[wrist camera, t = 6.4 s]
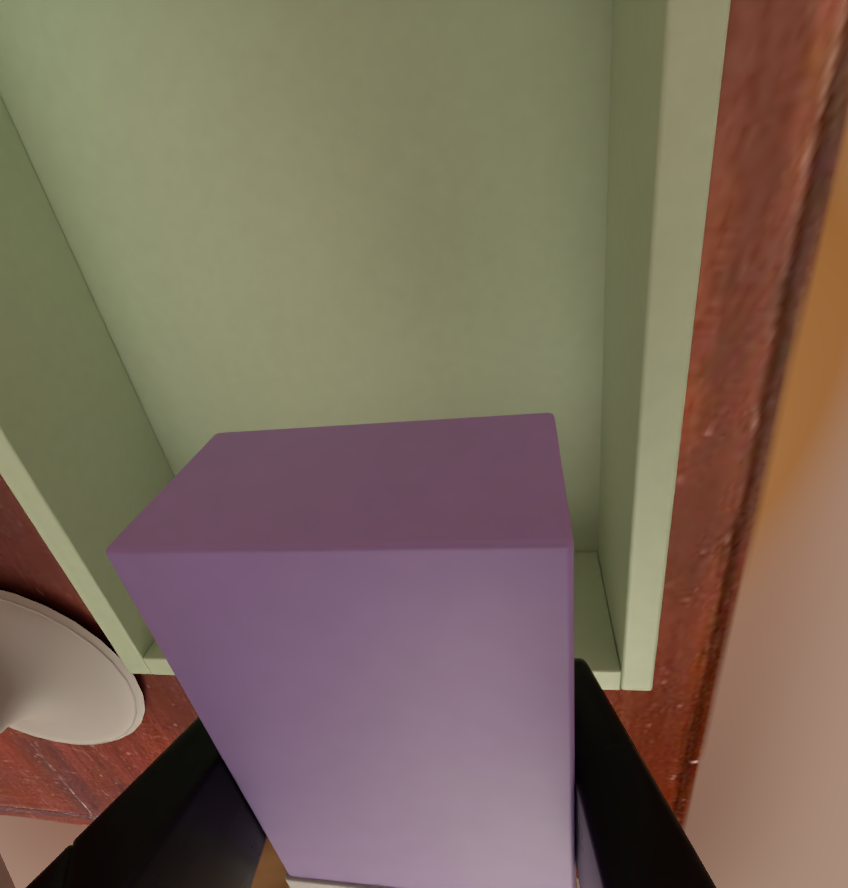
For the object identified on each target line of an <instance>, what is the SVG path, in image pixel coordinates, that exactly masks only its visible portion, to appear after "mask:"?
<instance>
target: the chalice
mask: <svg viewBox="0 0 848 888" xmlns="http://www.w3.org/2000/svg"><path fill="white" fill-rule="evenodd" d="M144 712H145V705H144V698H143V694H142V691H141V689H140V687H139V685H138V683H137V681H136V679H135V677H134V675H133V674H131V673H130V672H129V671H128V669H127V668H126V666H125V665H124V663H123V662H122V660H121V659H120V658H119V657H118V656H117V655H116V654H115V653H114V652H113V651H112V650H111V649H110V648H109V647H108V646H106V645H105V644H104V643H103V642H102V641H101V640H100V639H99V638H97V637H96V636H94V635H93V634H91V633H90V632H89V631H87V630H86V629H84V628H83V627H82V626H80V625H79V624H77V623H76V622H74V621H73V620H71V619H69V618H67V617H65V616H63V615H61V614H60V613H58V612H56V611H54V610H52V609H50V608H49V607H47V606H45V605H42V604H40V603H37V602H35V601H32V600H29V599H27V598H24V597H22V596H19V595H17V594H14V593H10V592H6V591H3V590H0V734H1V733H2V732H3V731H4V730H5V729H6V728H7V727H10V728H12V729H15V730H18V731H21V732H23V733H26V734H29V735H32V736H35V737H39V738H43V739H47V740H51V741H55V742H62V743H69V744H101V743H106V742H111V741H114V740H118V739H121V738H123V737H125V736H127V735H129V734H131V733H132V732H133V731H134V730H135V729H136V728H137V727H138V726H139V725H140V724H141V722H142V719H143V716H144ZM0 888H15V886H14V884H13V881H12V879H11V877H10V875H9V872H8V870H7V868H6V866H5V863H4V861H3V859H2V857H1V855H0Z"/></svg>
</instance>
